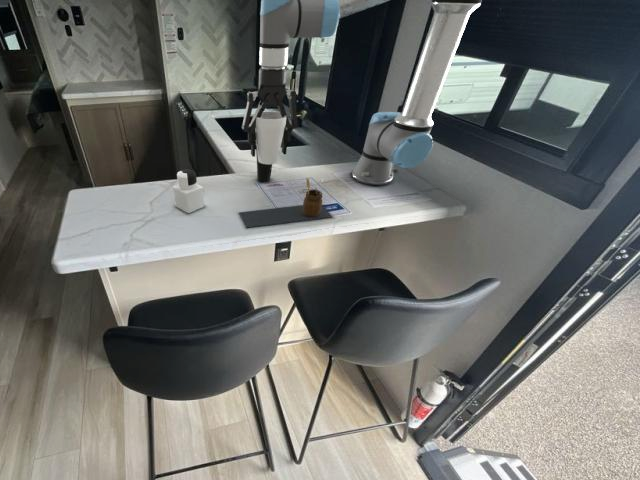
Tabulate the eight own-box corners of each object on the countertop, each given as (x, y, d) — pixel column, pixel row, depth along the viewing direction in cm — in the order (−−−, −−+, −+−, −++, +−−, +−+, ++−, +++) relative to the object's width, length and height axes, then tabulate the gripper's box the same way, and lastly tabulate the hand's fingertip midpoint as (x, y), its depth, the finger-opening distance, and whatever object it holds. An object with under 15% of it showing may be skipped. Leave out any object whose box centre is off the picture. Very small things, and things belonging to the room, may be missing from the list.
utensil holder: (323, 216, 105) (330, 180, 97) (305, 218, 104) (311, 182, 96) (315, 207, 109) (321, 172, 101) (298, 210, 108) (303, 174, 100)
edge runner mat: (320, 204, 112) (320, 203, 112) (332, 217, 105) (332, 216, 105) (239, 213, 107) (239, 212, 107) (246, 228, 100) (246, 227, 100)
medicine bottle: (191, 199, 114) (188, 165, 106) (204, 206, 110) (202, 171, 102) (175, 206, 110) (170, 171, 102) (188, 214, 107) (184, 178, 98)
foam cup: (280, 167, 99) (284, 120, 90) (251, 165, 100) (252, 119, 91) (284, 156, 106) (287, 111, 97) (256, 154, 107) (257, 110, 98)
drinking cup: (274, 184, 124) (278, 127, 110) (254, 184, 124) (256, 127, 110) (272, 176, 129) (277, 120, 115) (253, 175, 129) (255, 120, 115)
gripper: (307, 63, 90) (298, 147, 106) (230, 66, 87) (232, 152, 103) (317, 67, 85) (305, 155, 100) (234, 71, 82) (236, 160, 98)
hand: (268, 153), depth 102 cm, fingers closed on foam cup, 9 cm apart
